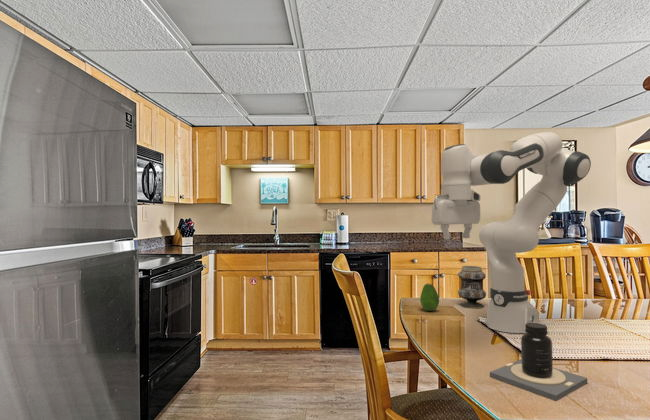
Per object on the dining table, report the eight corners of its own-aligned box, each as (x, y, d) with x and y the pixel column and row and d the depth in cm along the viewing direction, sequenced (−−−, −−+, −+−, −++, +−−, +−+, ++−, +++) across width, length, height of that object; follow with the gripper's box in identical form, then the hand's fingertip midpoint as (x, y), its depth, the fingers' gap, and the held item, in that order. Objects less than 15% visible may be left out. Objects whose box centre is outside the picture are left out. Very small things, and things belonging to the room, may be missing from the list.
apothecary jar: (490, 305, 177) (489, 266, 177) (480, 310, 168) (479, 269, 168) (464, 301, 185) (464, 264, 185) (453, 306, 176) (453, 266, 177)
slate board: (523, 362, 108) (522, 356, 108) (587, 382, 94) (587, 375, 94) (489, 376, 99) (489, 369, 99) (555, 400, 85) (555, 392, 85)
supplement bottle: (516, 368, 99) (515, 321, 100) (541, 367, 100) (540, 320, 100) (532, 379, 92) (531, 329, 93) (559, 378, 93) (558, 328, 93)
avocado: (416, 311, 168) (416, 283, 168) (426, 308, 173) (426, 281, 174) (433, 314, 162) (432, 285, 162) (442, 311, 167) (442, 283, 168)
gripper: (443, 193, 114) (443, 240, 114) (483, 195, 126) (484, 237, 125) (426, 195, 119) (427, 239, 119) (466, 196, 131) (467, 237, 131)
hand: (456, 238), depth 122 cm, fingers open, 8 cm apart
